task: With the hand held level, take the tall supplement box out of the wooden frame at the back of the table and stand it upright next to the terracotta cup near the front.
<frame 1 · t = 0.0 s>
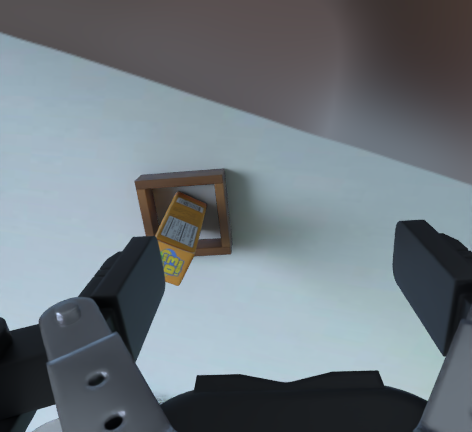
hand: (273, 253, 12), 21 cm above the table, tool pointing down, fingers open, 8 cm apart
supplement box: (188, 210, 35), resting in wooden frame
wooden frame: (188, 210, 35), on the table
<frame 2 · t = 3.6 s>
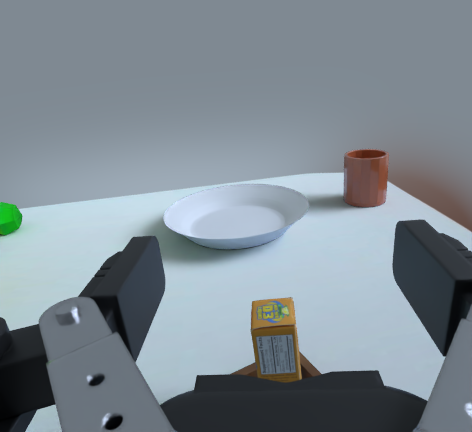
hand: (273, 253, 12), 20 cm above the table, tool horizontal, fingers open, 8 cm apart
green faceted polyhedron: (2, 234, 71), on the table
supplement box: (282, 413, 29), resting in wooden frame
wooden frame: (282, 411, 29), on the table
cup: (364, 199, 69), on the table
white plate: (237, 226, 64), on the table
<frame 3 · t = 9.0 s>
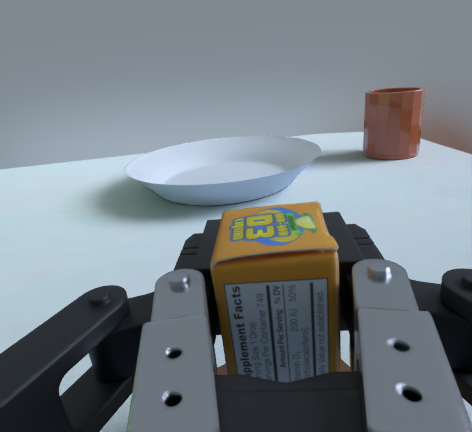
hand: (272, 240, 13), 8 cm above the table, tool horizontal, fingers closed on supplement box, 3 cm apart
cup: (389, 153, 54), on the table
white plate: (225, 182, 48), on the table
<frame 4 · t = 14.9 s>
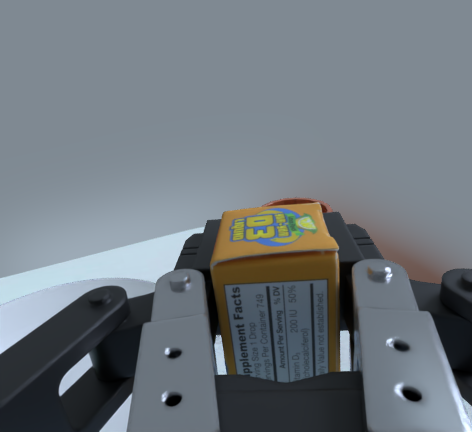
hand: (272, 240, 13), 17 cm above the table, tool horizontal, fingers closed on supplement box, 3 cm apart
cup: (296, 283, 41), on the table
white plate: (55, 404, 29), on the table
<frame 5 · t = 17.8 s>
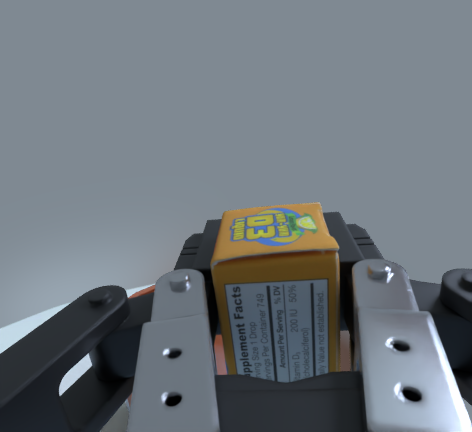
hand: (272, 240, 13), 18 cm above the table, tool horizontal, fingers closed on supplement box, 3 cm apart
cup: (186, 410, 27), on the table
when the fingers open (8 cm above the table, at t = 20.7 s): supplement box stays where it is, on the table.
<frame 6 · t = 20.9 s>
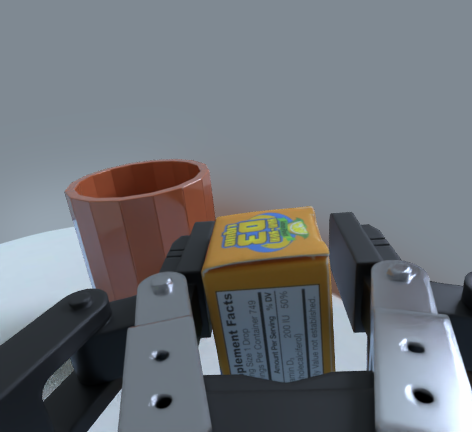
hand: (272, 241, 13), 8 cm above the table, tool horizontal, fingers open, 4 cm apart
cup: (166, 310, 23), on the table
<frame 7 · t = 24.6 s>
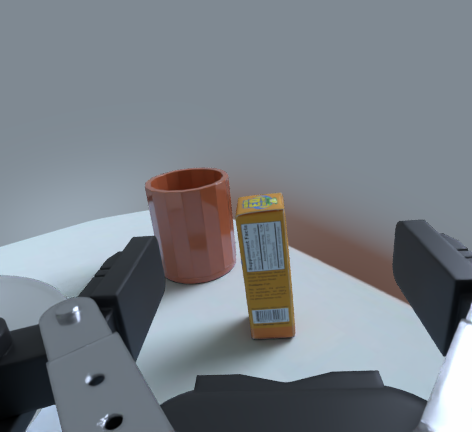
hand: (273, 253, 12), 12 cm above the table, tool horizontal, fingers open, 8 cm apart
supplement box: (270, 327, 27), on the table
cup: (199, 263, 37), on the table
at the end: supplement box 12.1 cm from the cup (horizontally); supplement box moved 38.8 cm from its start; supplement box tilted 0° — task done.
